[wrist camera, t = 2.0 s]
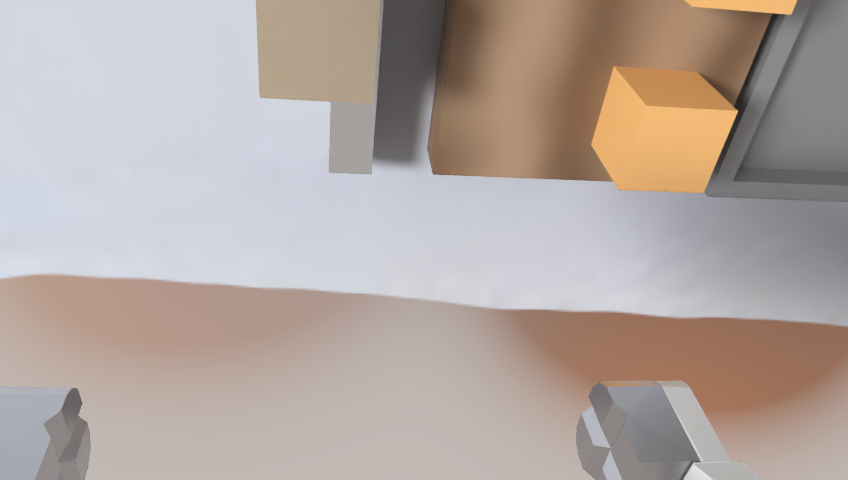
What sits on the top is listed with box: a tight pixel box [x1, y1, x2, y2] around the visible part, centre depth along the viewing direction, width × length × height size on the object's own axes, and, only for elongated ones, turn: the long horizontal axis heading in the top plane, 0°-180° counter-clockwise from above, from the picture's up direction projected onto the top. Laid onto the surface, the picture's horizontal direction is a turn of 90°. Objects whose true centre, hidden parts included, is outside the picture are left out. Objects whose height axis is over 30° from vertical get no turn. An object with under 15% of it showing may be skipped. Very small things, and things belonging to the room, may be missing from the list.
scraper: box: [256, 0, 384, 174], centre depth 26 cm, size 4×16×8 cm, turn 174°
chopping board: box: [427, 0, 772, 182], centre depth 30 cm, size 14×16×2 cm
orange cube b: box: [591, 66, 738, 193], centre depth 30 cm, size 4×4×4 cm
